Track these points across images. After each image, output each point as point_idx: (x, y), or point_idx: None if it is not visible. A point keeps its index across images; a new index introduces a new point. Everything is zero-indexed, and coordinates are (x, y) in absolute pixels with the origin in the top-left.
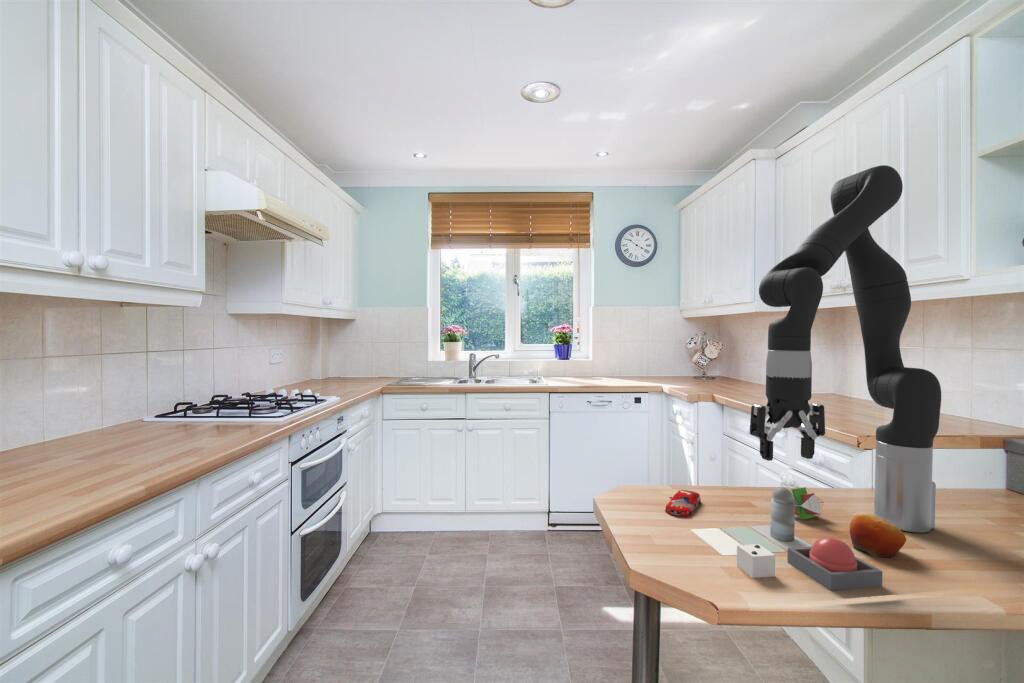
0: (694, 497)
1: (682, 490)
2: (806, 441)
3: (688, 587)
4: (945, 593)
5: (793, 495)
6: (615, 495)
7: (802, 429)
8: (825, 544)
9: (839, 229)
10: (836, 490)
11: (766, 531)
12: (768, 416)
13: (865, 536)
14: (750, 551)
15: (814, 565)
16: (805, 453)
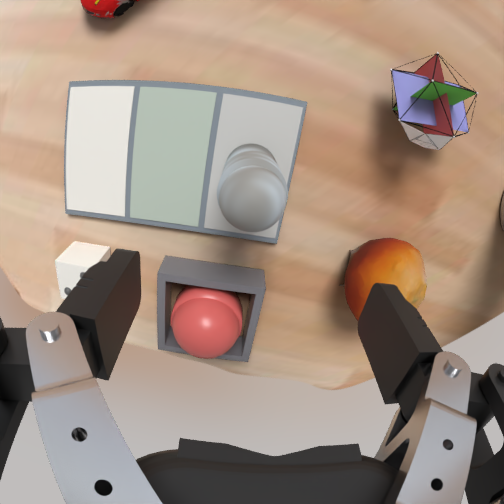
0: None
1: None
2: (392, 374)
3: (3, 261)
4: (323, 360)
5: (424, 87)
6: None
7: (391, 442)
8: (182, 343)
9: None
10: None
11: (241, 131)
12: (66, 501)
13: (346, 299)
14: (65, 284)
15: (157, 324)
16: (371, 320)
